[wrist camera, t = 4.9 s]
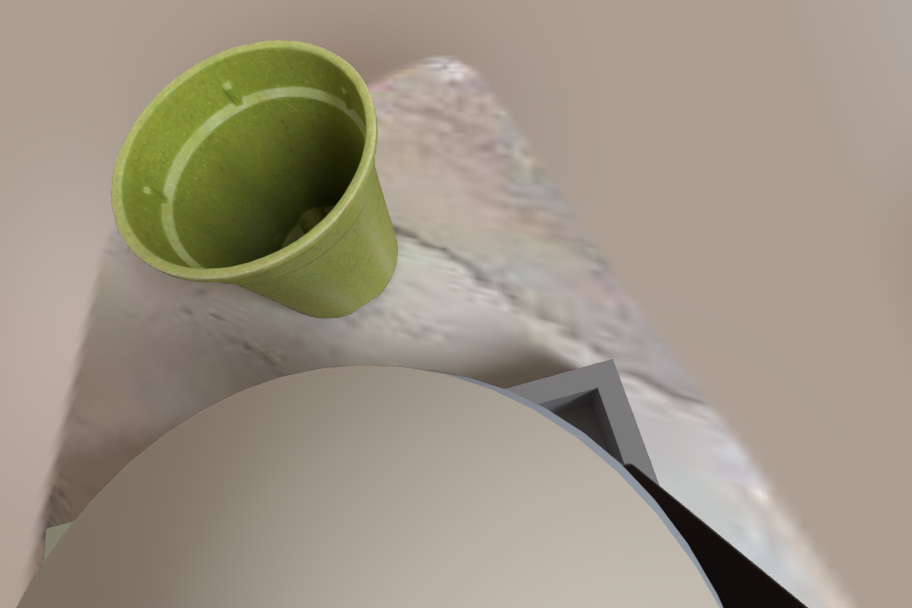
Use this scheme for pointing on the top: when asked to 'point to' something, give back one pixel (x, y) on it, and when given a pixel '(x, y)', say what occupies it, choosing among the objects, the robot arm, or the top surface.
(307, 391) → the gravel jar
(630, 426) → the charcoal bin
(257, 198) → the plant pot
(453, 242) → the top surface
